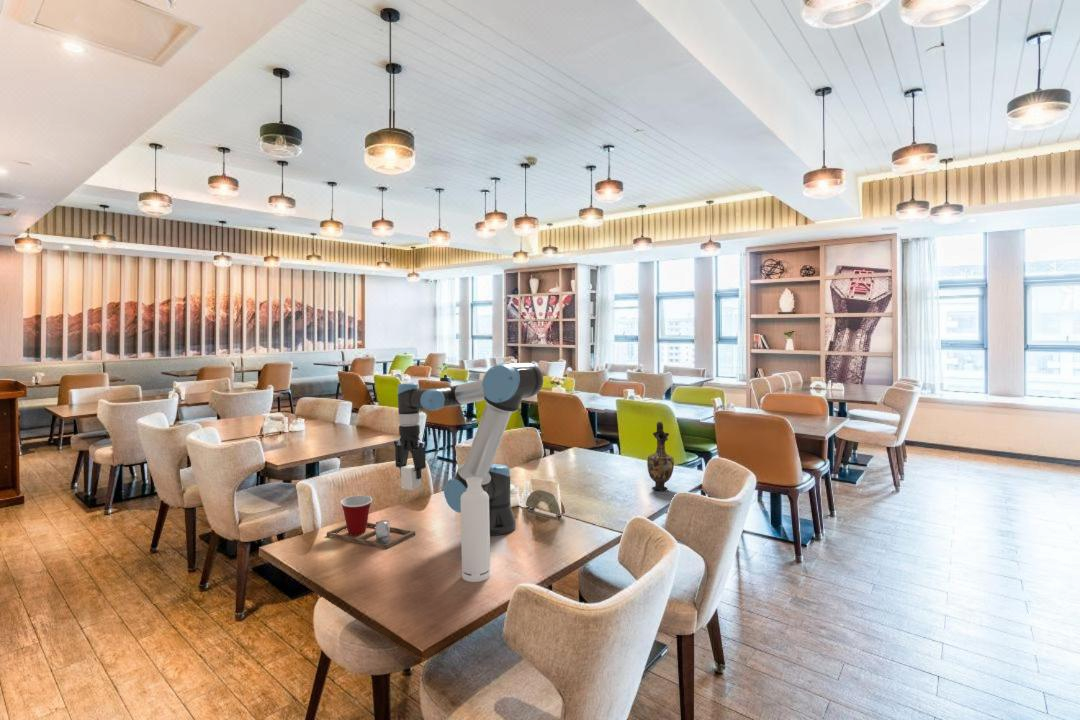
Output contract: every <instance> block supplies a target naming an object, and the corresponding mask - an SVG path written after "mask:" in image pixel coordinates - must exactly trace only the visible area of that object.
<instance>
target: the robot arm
mask: <svg viewBox="0 0 1080 720" xmlns="http://www.w3.org/2000/svg"><path fill="white" fill-rule="evenodd" d="M543 385H544V375H543V373H542V371H541V369H540V368H539V367H538V366H537V365H535V364H533V363H531V362H518V363H508V362H507V363H504V362H503V363H499V364H495V365H493V366H491V367H490V368H489V369H487V371H486V372H485V374H484V376H483V378H482V379H479V380H473V381H470V382H469V381H468V382H466V383H461V384H456V385H451V386H446V387H445V386H444V387H437V388H436V387H435V388H434V387H433V388H419V383H416V382H405V383H399V384H398V386H397V394H396V396H397V407H398V408H397V409H398V424H399V426H398V436H400V437H399V439H398V440H394V441H393V444H394V449H395V450H394V451H395V453H394V454H395V455H394V456H395V467H396V468H399V470H400V477H401V467H403V466H406V465H408V459H409V453H410V454H411V456H412V460H413V461H412V462H413V465H414V467H415V470H414V471H413V472H414V488H415V489H419V488H421V487H420V479H422V470H424V469H426V467H427V465H426V464H427V463H426V446H427V442H426V441H421V440H420V433H421V431H420V428H421V426H420V410H422V411H429V412H432V411H438V410H439V411H440V410H441V409H443V408H449V407H451V408H452V407H459V406H462V405H467V404H471V403H476V402H477V403H478V402H482V401H485V403H486V404H485V407H484V410H483V413H482V415H481V418H480V421H479V423H478V427H477V429H476V432H475V435H474V438H473V440H472V443H471V445H470V449H469V451H468V455H467V456H466V459H465V461H464V462H465V463H463V464H460V465H459V467H458V468H457V471H456V473H455V476H454V477H453V478H450V479H448V480H447V481H446V483H445V484H444V488H443V495H444V499H445V501H446V503H447V505H448V506H449V508H451V509H452V510H453V511H454V512H455V513H460V514H461V499H460V498H461V495H462V494H463V493H464V492H465V491H466V489H467V487H468V485H467V482H466V479H467V478H470V477H481V478H483V481H482V482H481V486H482V488H483V491H485V492H487V494H488V496H489V527H490V536H499V535H501V536H502V535H506V534H509V533H512V532H513V531H514V530H515V529H516V528H517V522H516V519H515V515H514V513H513V509H512V506H511V472H510V467H509V466H507V465H505V464H499V463H494V460H495V458H496V455H497V452H498V450H499V447H500V444H501V441H502V439H503V436H504V434H505V431H506V428H507V426H508V423H509V421H510V418H511V415H512V414H513V413H515V412H517V411H519V408H520V405H521V403H522V400H523V399H527V398H532V397H534V396H536V395H537V394H539V392H540V391H541V389H542V388H543ZM415 489H414V490H415Z"/></svg>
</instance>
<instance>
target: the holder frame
mask: <svg viewBox="0 0 1080 720" xmlns="http://www.w3.org/2000/svg"><path fill="white" fill-rule="evenodd" d="M367 525H368V526H367V527H369V526H373V527H372V528H374V527H376V523H372V522H368V521H367ZM346 528H347V525H346V524H345V525H342V526H340V527H337V528H335V529H333V530H332V529H331V530H330V531H327V532H326V537H329V536H332V537H331V538H334V537H336V538H335V539H338V538H340V539H339V540H343V539H344V541H349V542H354V543H358V544H363V545H366V546H367V545H368V546H371V547H376V548H382V549H387V550H388V549H390V548H392V547H394V546H395V545H398V544H400V543H402V542H403V541H406V540H408V539H410V538H412V537H413V536H415V535H416V531H414V530H409V529H404V528H400V527H393V526H390V530H391V531H390V532H394V531H395V532H396V533H400V534H404V535H401V536H399V537H398V538H396V539H394V540H390V542H389V543H387V544H382V543H377V542H376V541H371V540H368V539H369V538H371V537H373V536H376V529H375V530H373V531H370V532H367V533H366V534H365V533H364V534H363V535H360V536H359V537H352V536H349V535H348V536H347V535H343V534H338V533H340V532H339V531H341V530H343V529H346ZM346 530H347V529H346ZM343 531H344V530H343ZM336 532H338V533H336ZM341 532H342V531H341ZM334 533H336V534H334Z"/></svg>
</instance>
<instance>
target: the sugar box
mask: <svg viewBox="0 0 1080 720" xmlns="http://www.w3.org/2000/svg"><path fill="white" fill-rule="evenodd" d="M414 470H415V467H414V464H407V465H406V466H403V467H401V476H400V480H401V481H400V483H401V487H400V488H401V490H409V491H413V490H415V488H414V472H413V471H414ZM421 479H422V478H421ZM421 479H420V487H419V488H421V487H422V483H421V482H422V481H421Z"/></svg>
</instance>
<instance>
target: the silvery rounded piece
mask: <svg viewBox="0 0 1080 720" xmlns="http://www.w3.org/2000/svg"><path fill="white" fill-rule="evenodd" d="M375 524H376V528H375V530H376V535H375V542H377V543H382V544H387V543H389V542H391V540H390V538H391V536H390V535H391V531H390V527H391V525H390V520H385V519H383V520H381V519H380V520H378V521H376V522H375Z"/></svg>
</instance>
